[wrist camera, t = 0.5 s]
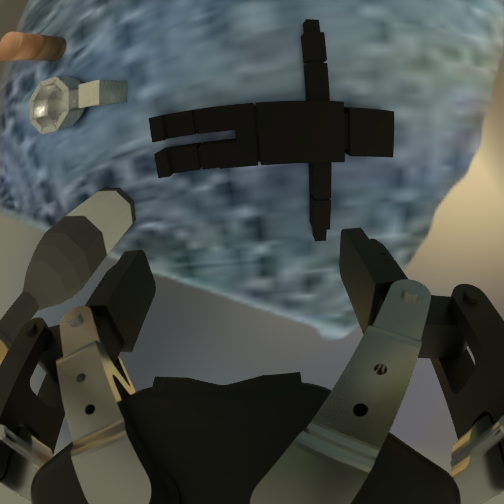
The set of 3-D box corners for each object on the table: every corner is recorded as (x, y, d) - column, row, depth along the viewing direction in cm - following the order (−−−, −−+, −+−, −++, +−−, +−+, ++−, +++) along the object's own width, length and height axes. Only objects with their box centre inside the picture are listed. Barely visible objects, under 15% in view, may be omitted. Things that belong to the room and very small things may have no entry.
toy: (140, 35, 23) (390, 25, 22) (154, 42, 28) (373, 33, 27) (175, 257, 38) (386, 242, 37) (183, 239, 43) (373, 226, 42)
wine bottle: (145, 223, 41) (42, 388, 15) (108, 239, 42) (6, 385, 17) (122, 177, 37) (-26, 311, 11) (85, 198, 39) (-46, 324, 13)
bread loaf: (48, 42, 24) (-2, 38, 14) (67, 34, 25) (17, 27, 14) (46, 63, 26) (-5, 64, 16) (65, 57, 27) (13, 54, 16)
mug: (55, 84, 29) (22, 86, 22) (127, 66, 29) (100, 61, 22) (56, 128, 32) (24, 138, 26) (127, 117, 33) (99, 123, 26)
